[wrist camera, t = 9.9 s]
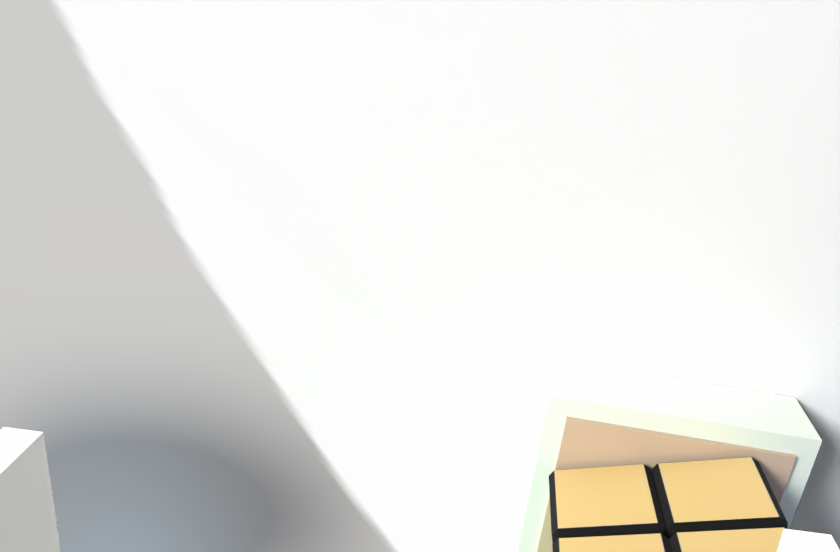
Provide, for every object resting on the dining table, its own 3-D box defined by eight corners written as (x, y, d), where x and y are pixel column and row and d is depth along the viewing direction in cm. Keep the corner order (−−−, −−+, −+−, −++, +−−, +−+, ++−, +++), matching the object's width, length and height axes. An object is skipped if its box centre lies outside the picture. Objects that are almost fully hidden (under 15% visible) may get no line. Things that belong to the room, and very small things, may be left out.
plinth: (795, 397, 40) (824, 443, 36) (728, 585, 45) (748, 644, 41) (548, 357, 41) (550, 398, 37) (509, 545, 46) (508, 599, 42)
